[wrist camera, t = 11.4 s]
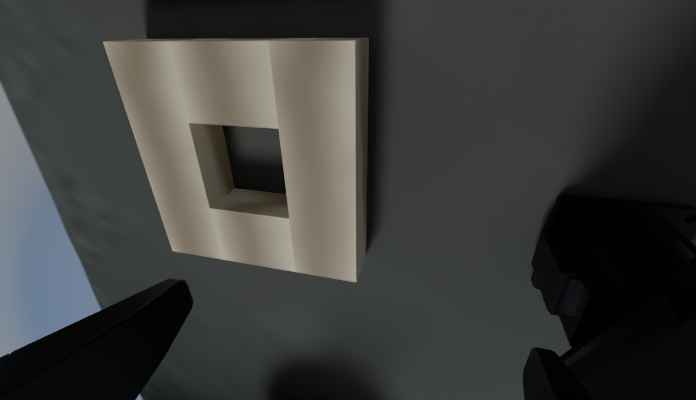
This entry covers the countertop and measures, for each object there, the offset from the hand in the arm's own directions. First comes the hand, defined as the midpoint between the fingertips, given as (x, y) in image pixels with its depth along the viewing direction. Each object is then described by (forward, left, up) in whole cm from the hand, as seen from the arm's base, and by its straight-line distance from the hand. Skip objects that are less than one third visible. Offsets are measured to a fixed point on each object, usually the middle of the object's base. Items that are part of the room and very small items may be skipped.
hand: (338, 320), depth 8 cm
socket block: (+9, +1, -13) cm, 16 cm away
